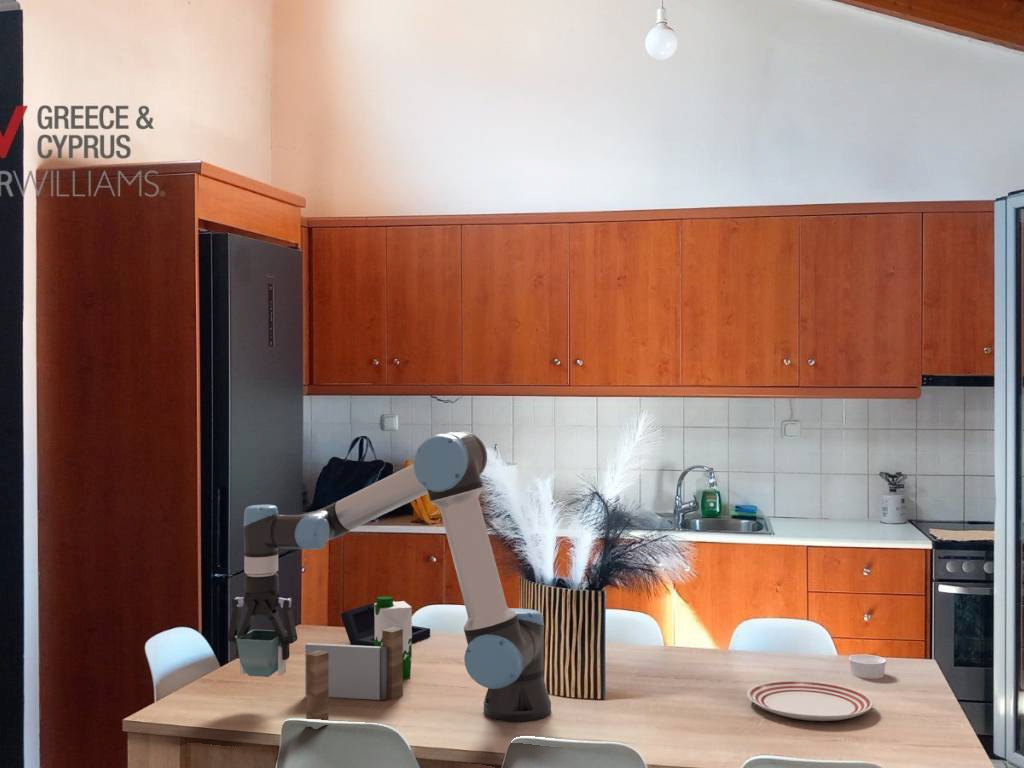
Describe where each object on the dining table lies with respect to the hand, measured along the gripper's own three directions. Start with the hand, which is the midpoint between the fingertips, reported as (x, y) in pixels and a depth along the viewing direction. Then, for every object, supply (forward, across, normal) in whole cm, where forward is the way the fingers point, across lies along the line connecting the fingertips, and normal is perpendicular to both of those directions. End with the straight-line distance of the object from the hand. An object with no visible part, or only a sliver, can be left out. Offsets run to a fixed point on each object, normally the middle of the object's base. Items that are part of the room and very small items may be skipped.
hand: (263, 672), depth 227 cm
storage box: (+8, -11, -61) cm, 63 cm away
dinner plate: (+10, -122, -20) cm, 124 cm away
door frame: (+8, -22, -1) cm, 23 cm away
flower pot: (0, 0, 0) cm, 0 cm away
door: (+8, -26, -9) cm, 28 cm away
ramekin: (+11, -140, -49) cm, 149 cm away
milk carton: (+8, -22, -28) cm, 37 cm away
